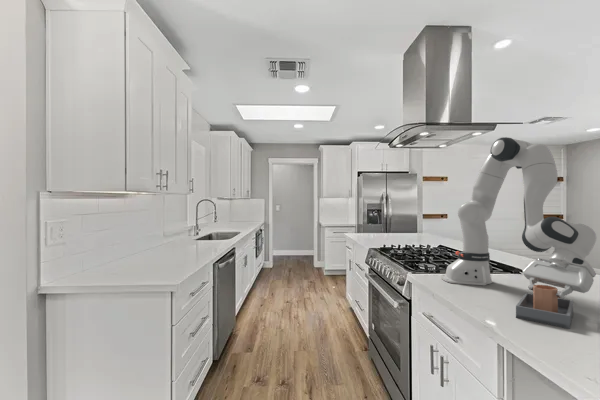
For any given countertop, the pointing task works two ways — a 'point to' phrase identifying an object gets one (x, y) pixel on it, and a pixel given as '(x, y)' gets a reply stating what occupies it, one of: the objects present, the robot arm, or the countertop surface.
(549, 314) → the tray
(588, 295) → the countertop surface
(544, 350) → the countertop surface
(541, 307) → the cup
